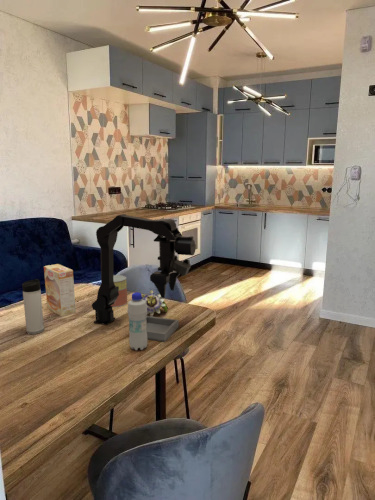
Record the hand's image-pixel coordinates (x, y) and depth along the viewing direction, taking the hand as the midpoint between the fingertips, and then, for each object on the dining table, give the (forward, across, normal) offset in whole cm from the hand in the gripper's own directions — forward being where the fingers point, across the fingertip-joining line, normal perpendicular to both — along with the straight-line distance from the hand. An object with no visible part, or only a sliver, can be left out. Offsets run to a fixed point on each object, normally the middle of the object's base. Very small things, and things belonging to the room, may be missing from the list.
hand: (167, 293), depth 143 cm
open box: (+15, -3, +4) cm, 16 cm away
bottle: (+15, -17, +4) cm, 23 cm away
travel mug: (+15, -17, +48) cm, 53 cm away
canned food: (+15, +21, +35) cm, 44 cm away
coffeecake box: (+15, +5, +53) cm, 56 cm away
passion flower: (+15, +15, +13) cm, 25 cm away
